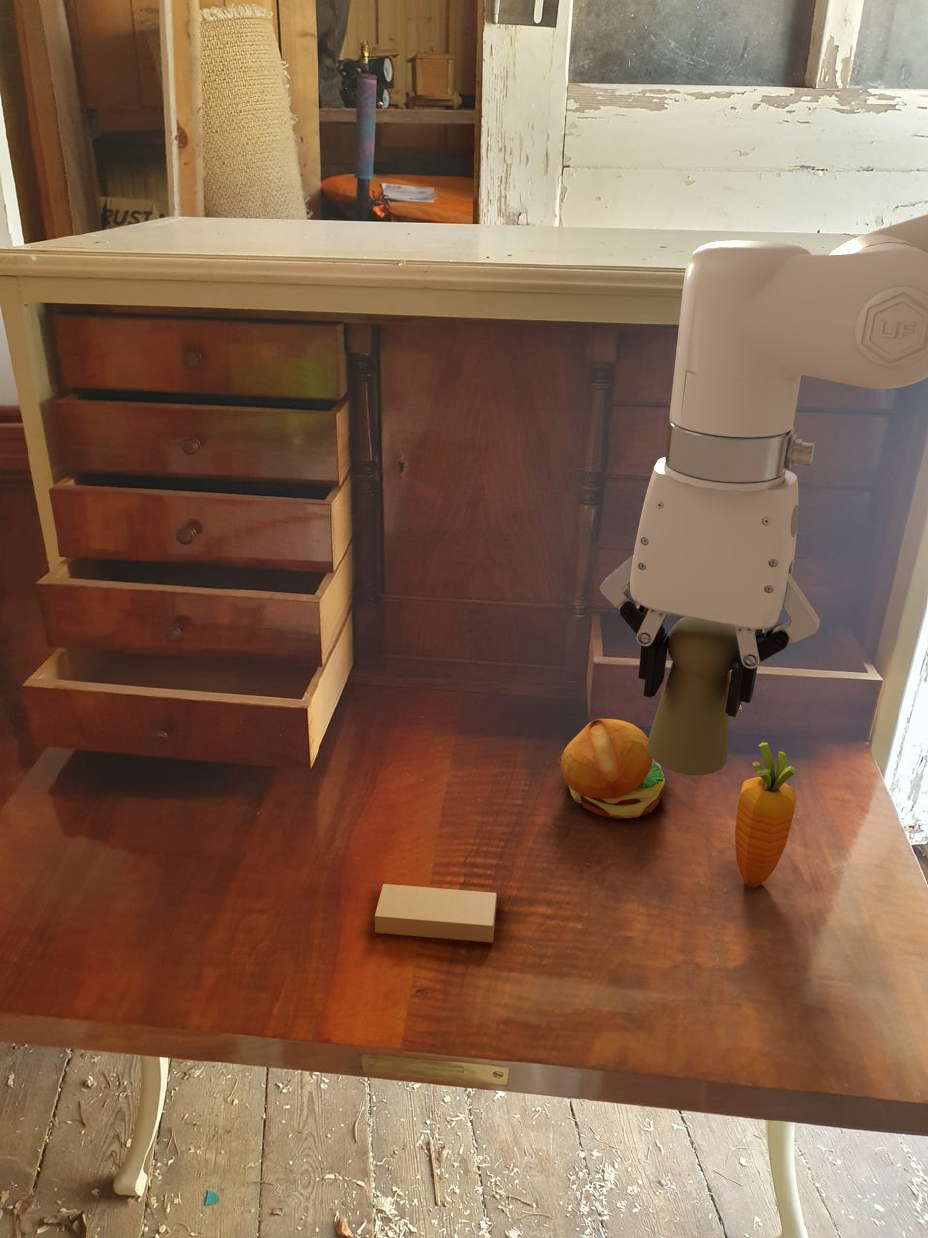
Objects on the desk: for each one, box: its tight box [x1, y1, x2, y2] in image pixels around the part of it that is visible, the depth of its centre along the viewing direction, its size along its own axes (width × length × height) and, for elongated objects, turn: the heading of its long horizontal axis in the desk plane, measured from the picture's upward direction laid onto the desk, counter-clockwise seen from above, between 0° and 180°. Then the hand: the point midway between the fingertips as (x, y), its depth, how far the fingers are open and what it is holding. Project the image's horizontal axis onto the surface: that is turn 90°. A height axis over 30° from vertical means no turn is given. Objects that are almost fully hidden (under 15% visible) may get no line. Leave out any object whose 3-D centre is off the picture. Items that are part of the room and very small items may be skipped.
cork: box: [646, 616, 739, 776], centre depth 71 cm, size 6×6×11 cm
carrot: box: [734, 742, 797, 888], centre depth 85 cm, size 5×5×15 cm
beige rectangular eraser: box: [374, 883, 498, 943], centre depth 83 cm, size 10×4×2 cm, turn 84°
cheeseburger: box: [557, 718, 666, 820], centre depth 98 cm, size 10×11×10 cm
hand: (693, 695), depth 69 cm, fingers closed on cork, 5 cm apart
